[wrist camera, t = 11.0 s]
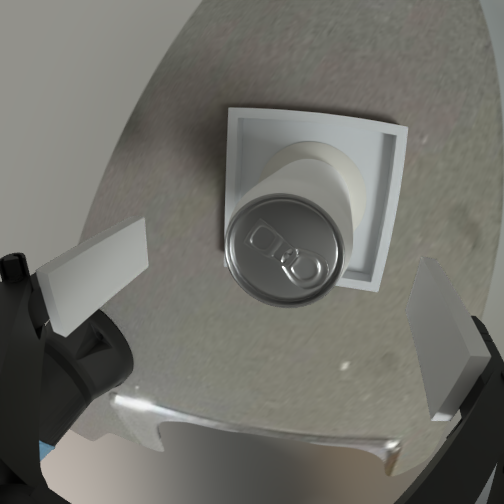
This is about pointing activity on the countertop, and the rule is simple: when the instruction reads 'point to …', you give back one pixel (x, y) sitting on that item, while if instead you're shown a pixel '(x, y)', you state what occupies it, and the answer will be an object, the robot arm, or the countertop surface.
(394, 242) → the countertop surface
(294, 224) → the can
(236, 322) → the countertop surface
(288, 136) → the flange tray
